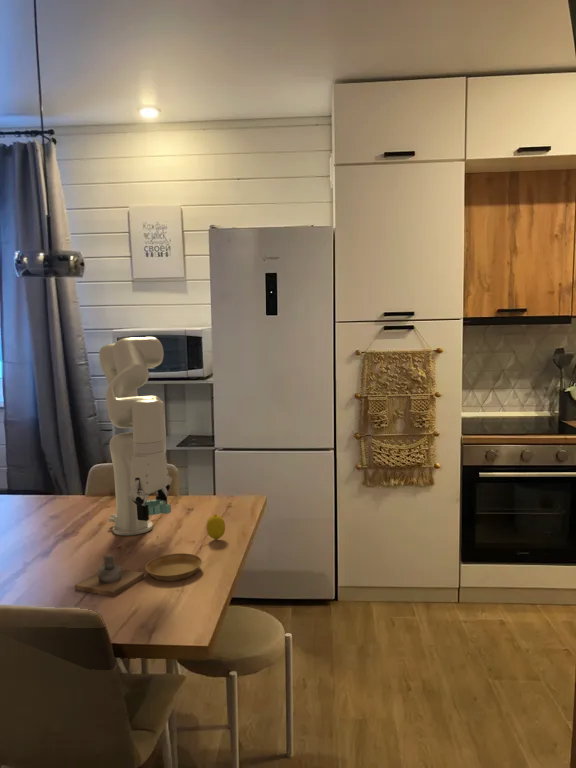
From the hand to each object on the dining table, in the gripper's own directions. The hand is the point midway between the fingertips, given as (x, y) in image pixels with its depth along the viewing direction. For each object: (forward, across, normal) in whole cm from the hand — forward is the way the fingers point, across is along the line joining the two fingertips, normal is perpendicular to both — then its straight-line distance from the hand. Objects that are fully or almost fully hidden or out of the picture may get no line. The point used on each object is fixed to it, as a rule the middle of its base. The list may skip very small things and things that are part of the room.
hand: (152, 515), depth 157 cm
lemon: (+16, -28, 0) cm, 33 cm away
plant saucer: (+17, -4, +3) cm, 18 cm away
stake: (+16, +8, -8) cm, 20 cm away
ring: (-1, 0, 0) cm, 1 cm away
